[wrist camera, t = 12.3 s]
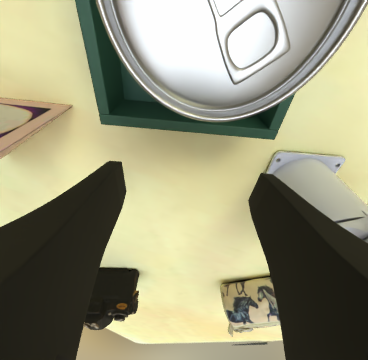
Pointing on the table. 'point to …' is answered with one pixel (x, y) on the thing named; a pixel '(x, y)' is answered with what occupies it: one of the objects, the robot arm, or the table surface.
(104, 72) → the tote
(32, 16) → the table surface
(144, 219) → the table surface
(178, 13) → the can
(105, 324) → the film camera
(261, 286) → the pencil case
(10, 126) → the greeting card
